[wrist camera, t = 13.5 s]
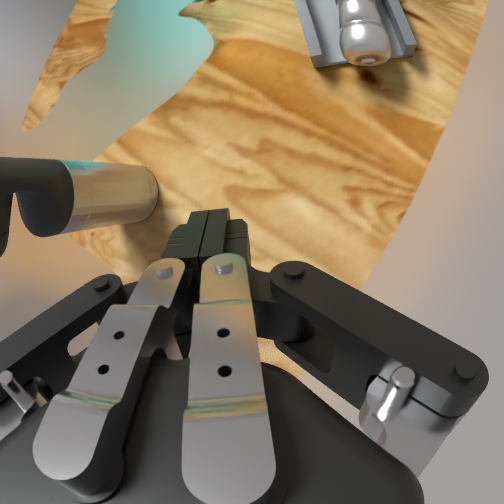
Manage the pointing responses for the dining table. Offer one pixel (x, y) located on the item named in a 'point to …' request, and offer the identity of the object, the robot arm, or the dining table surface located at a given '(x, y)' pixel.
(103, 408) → the robot arm
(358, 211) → the dining table surface
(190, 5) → the dining table surface
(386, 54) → the silver water bottle
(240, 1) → the dining table surface
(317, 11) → the bottle cradle
